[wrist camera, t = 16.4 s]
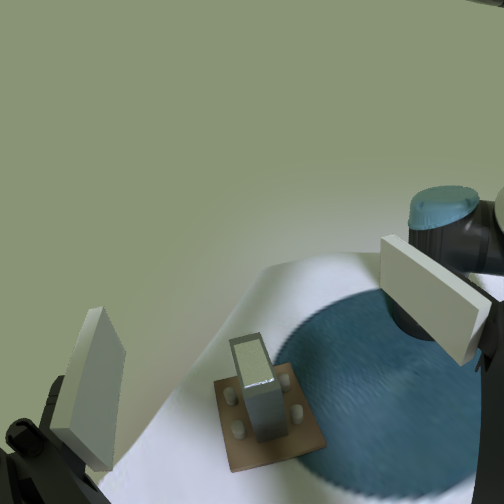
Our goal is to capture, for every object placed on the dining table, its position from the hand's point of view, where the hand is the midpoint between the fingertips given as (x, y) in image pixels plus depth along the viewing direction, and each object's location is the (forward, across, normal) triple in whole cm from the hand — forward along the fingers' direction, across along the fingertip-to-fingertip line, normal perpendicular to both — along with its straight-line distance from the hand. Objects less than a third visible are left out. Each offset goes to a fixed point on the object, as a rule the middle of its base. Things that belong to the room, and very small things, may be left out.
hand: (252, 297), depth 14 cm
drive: (+14, 0, -28) cm, 32 cm away
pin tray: (+14, 0, -29) cm, 32 cm away
